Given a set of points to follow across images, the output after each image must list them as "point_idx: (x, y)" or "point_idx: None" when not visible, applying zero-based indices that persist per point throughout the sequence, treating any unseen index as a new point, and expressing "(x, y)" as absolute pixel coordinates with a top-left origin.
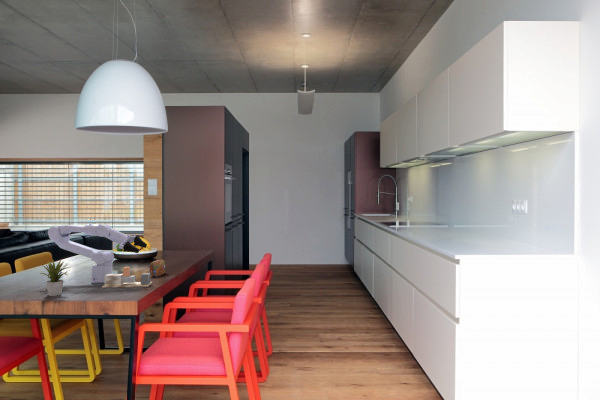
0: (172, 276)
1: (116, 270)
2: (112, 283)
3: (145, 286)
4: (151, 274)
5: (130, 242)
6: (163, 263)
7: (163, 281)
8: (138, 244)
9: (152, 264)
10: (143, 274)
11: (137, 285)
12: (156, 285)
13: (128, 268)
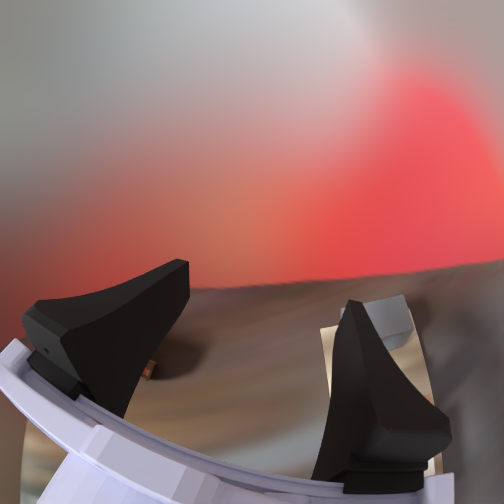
0: None
1: (27, 498)
2: None
3: (412, 321)
4: (150, 376)
5: (186, 450)
6: None
7: (282, 296)
8: (139, 357)
9: None
10: (392, 324)
11: (419, 354)
12: (378, 290)
13: (427, 395)
